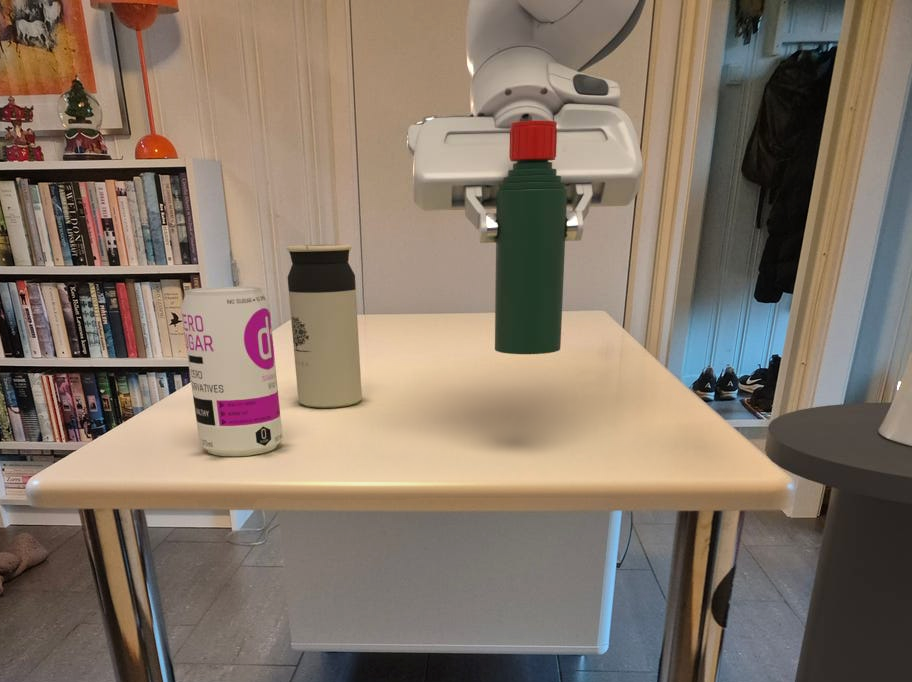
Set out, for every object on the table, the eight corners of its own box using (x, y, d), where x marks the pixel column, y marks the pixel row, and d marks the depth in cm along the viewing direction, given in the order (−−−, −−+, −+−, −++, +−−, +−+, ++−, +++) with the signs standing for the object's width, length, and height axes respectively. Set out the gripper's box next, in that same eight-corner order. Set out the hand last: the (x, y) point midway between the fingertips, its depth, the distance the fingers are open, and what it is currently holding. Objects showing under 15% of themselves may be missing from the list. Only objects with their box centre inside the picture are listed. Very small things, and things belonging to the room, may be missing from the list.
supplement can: (296, 440, 89) (282, 285, 82) (258, 460, 82) (239, 292, 75) (227, 436, 91) (208, 286, 85) (185, 455, 84) (160, 292, 78)
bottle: (561, 345, 80) (571, 130, 73) (558, 354, 75) (568, 123, 67) (498, 345, 82) (501, 132, 74) (490, 354, 76) (492, 126, 68)
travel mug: (353, 394, 112) (344, 243, 104) (369, 405, 105) (360, 245, 97) (293, 399, 110) (279, 245, 102) (305, 411, 103) (291, 247, 95)
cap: (556, 160, 73) (558, 123, 72) (554, 158, 70) (555, 119, 68) (512, 162, 74) (512, 125, 72) (507, 160, 70) (507, 121, 69)
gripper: (405, 86, 75) (411, 210, 70) (637, 81, 75) (657, 204, 71) (406, 148, 81) (412, 266, 76) (621, 144, 81) (638, 260, 77)
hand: (532, 236), depth 74 cm, fingers closed on bottle, 6 cm apart
